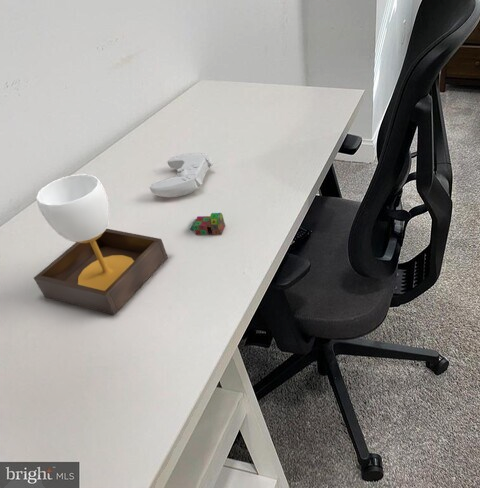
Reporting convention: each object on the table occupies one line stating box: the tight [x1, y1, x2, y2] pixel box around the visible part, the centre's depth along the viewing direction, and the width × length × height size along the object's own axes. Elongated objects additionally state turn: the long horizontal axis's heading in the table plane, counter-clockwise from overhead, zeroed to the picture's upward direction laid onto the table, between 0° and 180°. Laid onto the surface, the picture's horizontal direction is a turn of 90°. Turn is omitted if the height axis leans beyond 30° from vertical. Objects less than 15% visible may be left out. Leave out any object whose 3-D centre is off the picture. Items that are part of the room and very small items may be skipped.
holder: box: [33, 228, 169, 316], centre depth 76 cm, size 14×14×4 cm
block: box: [190, 212, 226, 236], centre depth 85 cm, size 6×4×3 cm
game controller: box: [149, 152, 214, 198], centre depth 99 cm, size 14×4×10 cm
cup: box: [35, 173, 134, 291], centre depth 72 cm, size 9×9×16 cm
